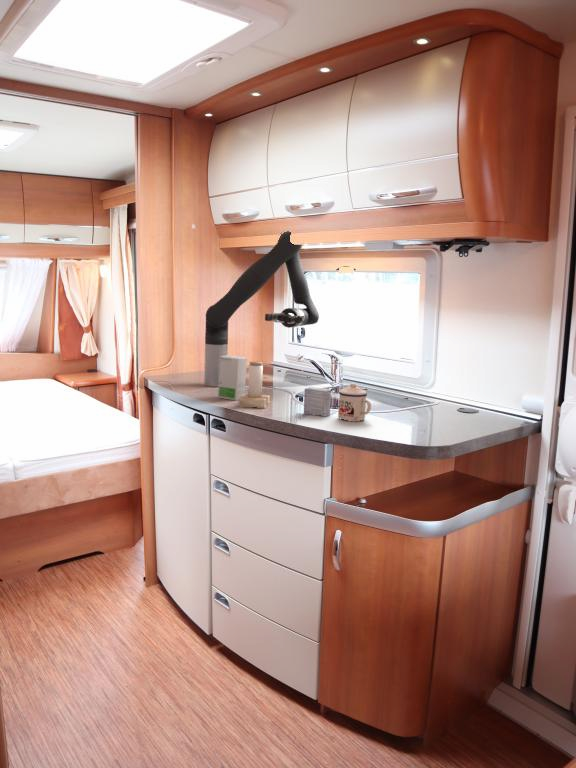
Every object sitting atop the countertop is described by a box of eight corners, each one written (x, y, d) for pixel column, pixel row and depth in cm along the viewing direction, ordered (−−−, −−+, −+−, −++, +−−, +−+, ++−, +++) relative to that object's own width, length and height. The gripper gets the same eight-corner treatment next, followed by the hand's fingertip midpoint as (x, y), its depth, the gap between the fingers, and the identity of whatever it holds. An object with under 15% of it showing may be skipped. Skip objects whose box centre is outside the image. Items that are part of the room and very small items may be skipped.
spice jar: (249, 394, 218) (250, 361, 216) (263, 395, 217) (264, 362, 216) (246, 396, 213) (247, 362, 212) (260, 397, 213) (261, 363, 211)
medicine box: (330, 415, 205) (331, 389, 204) (324, 417, 201) (325, 391, 200) (309, 411, 209) (310, 386, 207) (303, 413, 205) (304, 388, 204)
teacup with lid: (331, 418, 200) (333, 382, 198) (349, 414, 206) (351, 380, 204) (360, 425, 191) (362, 388, 190) (378, 421, 198) (380, 385, 196)
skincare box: (217, 398, 226) (218, 356, 224) (227, 395, 232) (228, 354, 230) (236, 400, 222) (238, 358, 220) (246, 398, 228) (247, 356, 226)
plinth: (245, 402, 221) (245, 393, 220) (269, 403, 219) (270, 395, 219) (238, 406, 212) (239, 397, 212) (264, 408, 211) (264, 399, 210)
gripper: (276, 306, 244) (260, 307, 229) (310, 309, 239) (296, 309, 224) (275, 325, 245) (259, 327, 230) (309, 328, 240) (295, 330, 225)
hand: (277, 318), depth 227 cm, fingers open, 8 cm apart
